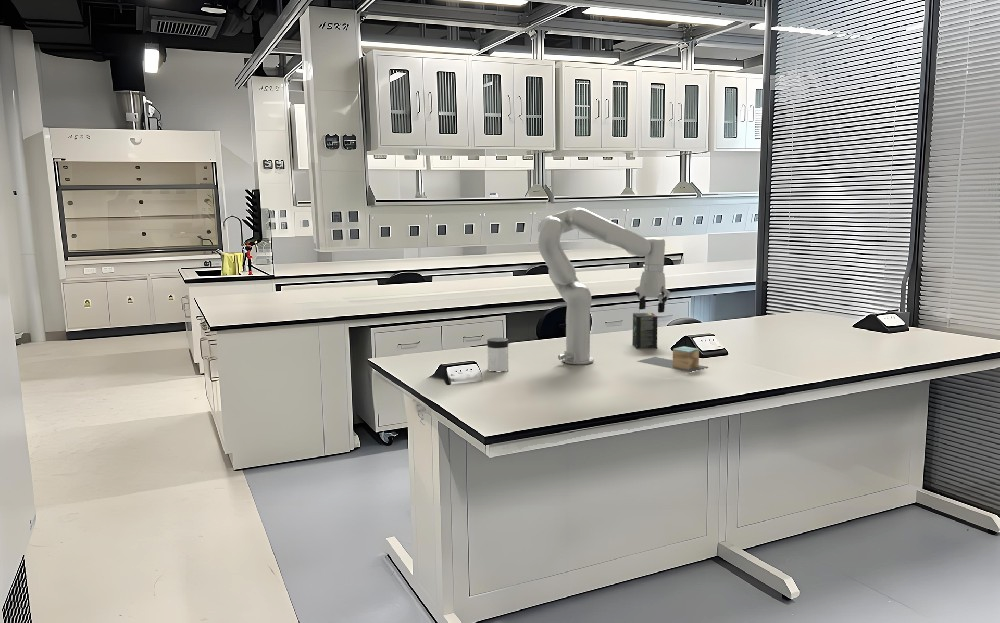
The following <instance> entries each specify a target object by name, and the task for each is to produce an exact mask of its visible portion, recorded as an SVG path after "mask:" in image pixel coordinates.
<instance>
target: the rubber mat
mask: <svg viewBox="0 0 1000 623" xmlns="http://www.w3.org/2000/svg"><path fill="white" fill-rule="evenodd" d="M637 362H638V363H643V364H647V365H653V366H658V367H662V368H663V367H664V368H668V369H673V370H677V371H684V372H687V373H688V372H691V373H693V372H692V371H695V372H697V371H696V370H698V371H701V370H700V369H702V370H705V369H704V368H706V369H708V368H709V367H708V366H704V365H700V364H699V367H696V368H692V369H689V370H687V369H682V368H677V367H672V366H673V359H667V358H664V357H658V356H653V357H647V358H644V359H641V360H636V363H637Z"/></svg>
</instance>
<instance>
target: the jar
mask: <svg viewBox="0 0 1000 623" xmlns="http://www.w3.org/2000/svg"><path fill="white" fill-rule="evenodd" d="M486 344H487V345H486V346H487V371H488V370H491V371H505V372H507V371H506V370H508V371H509V339H508V338H507V337H506V338H505V337H490V338H488V339H487V340H486Z"/></svg>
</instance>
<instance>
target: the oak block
mask: <svg viewBox="0 0 1000 623" xmlns="http://www.w3.org/2000/svg"><path fill="white" fill-rule="evenodd" d="M672 360H673V366H672V367H677V368H682V369H687V370H689V369H692V368H696V367H699V365H700V364H699V363H700V361H699V360H700V348H696V347H689V346H679V347H676V348H673V349H672Z"/></svg>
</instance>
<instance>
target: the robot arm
mask: <svg viewBox="0 0 1000 623" xmlns="http://www.w3.org/2000/svg"><path fill="white" fill-rule="evenodd" d="M574 230H578V231H579V232H582V233H583V234H586V235H587V236H590V237H591V238H594V239H597V241H600V242H603V243H604V244H608V245H613V246H615V247H618V248H621V249H622V250H625V251H626V252H627V254H628V255H631V256H635V257H639V258H641V257H644V264H643V266H642V267H643V271H642V273H641V276H640V282H639V286H637V287H635V293H636V296H637V298H638V302H639V303H638V304H639V306H638V310H646V306H647V304H646V303H647V301H646V299H645V298H647V297H648V298H656V299H658V301H659V302H658V304H657V312H658V313H659V314H660V313H665V309H666V307H665V304H666V303H667V301H668V300H669V299H670V297H671V294H672V293H671V291H670V290H668V289H667V288H666V276H665V272H664V267H665V249H666V248H665V247H666V241H665V239H664V238H662V237H644V236H642V235H639V234H637V233H636V232H634V231H632V230H629V229H628V228H625V227H623V226H620V225H618V224H617V223H615V222H612V221H611V220H608V219H606V218H604V217H602V216H600V215H598V214H596V213H594V212H591V211H589V210H588V209H585V208H583V207H573V208H570V209H567V210H564V211H561V212H557V213H555V214H552V215H548V216H545V217H543V218H542V219H541V220H540V221H539V223H538V231H539V236H538V244H537V245H538V250H539V254H540V256H541V257H542V259H543V261H544V262H545V264H546V266H547V268H548V269H547V270H548V276H549V278H550V280H551V282H552V283H553V285H554V287H555V288H556V290H557V292H558V293H559V294H560V296H561V298H562V300H563V301H565V302H566V313H565V314H566V315H565V324H566V325H565V326H566V327H565V337H566V338H565V341H566V342H565V344H566V345H565V347H566V348H565V350H564V352H563V354H558V355H557V359H558V360H560V361H562V363H564V362H565V364H570V365H589V364H592V363H593V362H594V360H595V359H594V357H591V355H590V354H591V345H590V344H591V308H592V306H591V305H592V294H591V293H592V292H591V291H590V289H589V288H588V287H587V286H586V285H584V284H582V283H581V282H580V281H579V279H578V277H577V276H576V275H577V274H576V273H577V272H576V268H575V266H574V265H573V264H572V263H571V261H570V259H569V258H568V256H567V254H566V253H565V251H564V249H563V247H562V245H561V236H562V235H563V234H566V233H569V232H571V231H574Z"/></svg>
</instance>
